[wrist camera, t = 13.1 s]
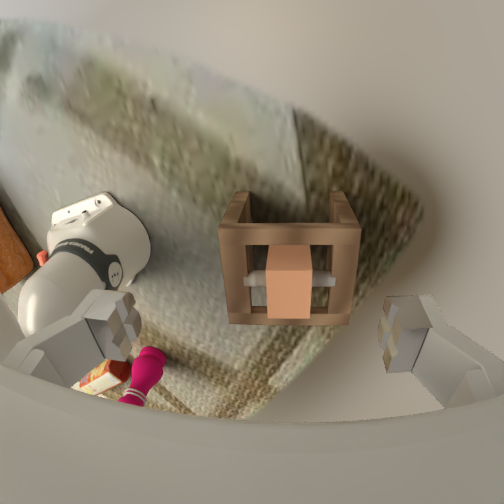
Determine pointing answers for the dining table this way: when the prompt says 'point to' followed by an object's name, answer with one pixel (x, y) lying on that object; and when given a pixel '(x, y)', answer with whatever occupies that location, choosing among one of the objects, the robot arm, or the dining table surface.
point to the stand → (248, 234)
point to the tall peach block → (289, 281)
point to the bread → (12, 256)
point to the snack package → (105, 377)
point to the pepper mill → (144, 375)
